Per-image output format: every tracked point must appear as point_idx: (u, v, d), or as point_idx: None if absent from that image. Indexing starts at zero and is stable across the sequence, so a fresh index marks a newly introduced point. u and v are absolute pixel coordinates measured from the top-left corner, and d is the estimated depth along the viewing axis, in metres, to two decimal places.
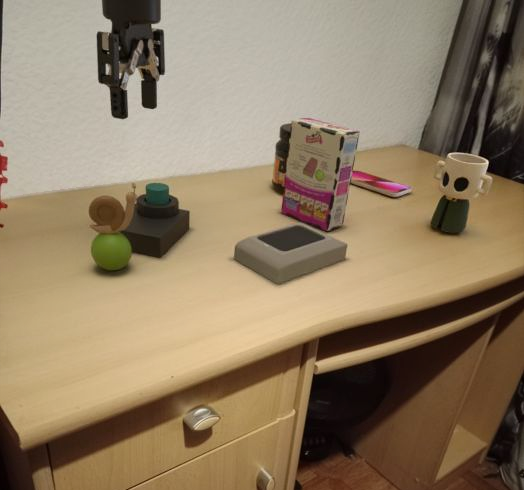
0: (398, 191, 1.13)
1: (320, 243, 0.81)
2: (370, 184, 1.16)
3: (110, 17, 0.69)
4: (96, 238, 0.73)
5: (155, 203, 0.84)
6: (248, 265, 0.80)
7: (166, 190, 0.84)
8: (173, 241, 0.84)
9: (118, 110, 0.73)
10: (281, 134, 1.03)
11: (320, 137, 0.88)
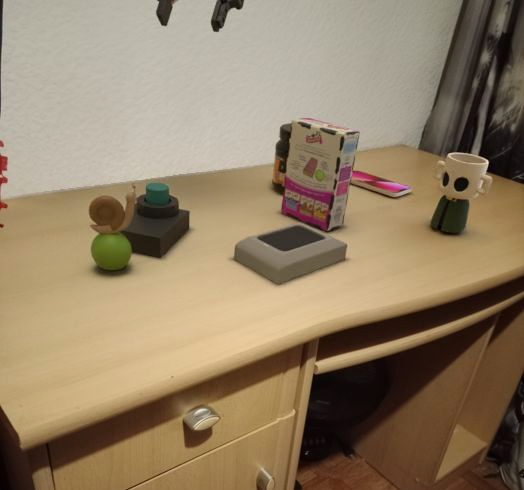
0: (398, 191, 1.13)
1: (320, 243, 0.81)
2: (370, 184, 1.16)
3: None
4: (96, 238, 0.73)
5: (155, 203, 0.84)
6: (248, 265, 0.80)
7: (166, 190, 0.84)
8: (173, 241, 0.84)
9: (223, 23, 0.81)
10: (281, 134, 1.03)
11: (320, 137, 0.88)
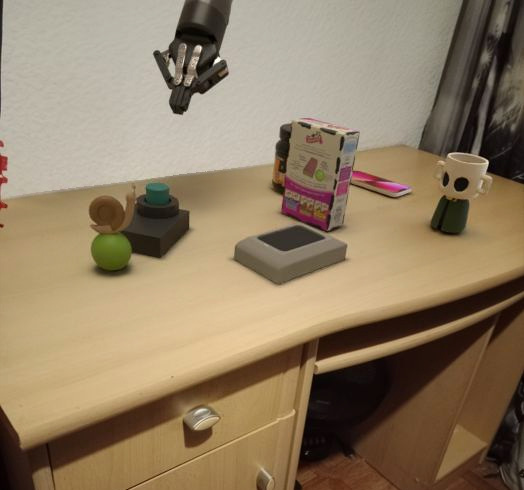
0: (398, 191, 1.13)
1: (320, 243, 0.81)
2: (370, 184, 1.16)
3: (217, 39, 0.86)
4: (96, 238, 0.73)
5: (155, 203, 0.84)
6: (248, 265, 0.80)
7: (166, 190, 0.84)
8: (173, 241, 0.84)
9: (187, 107, 0.86)
10: (281, 134, 1.03)
11: (320, 137, 0.88)
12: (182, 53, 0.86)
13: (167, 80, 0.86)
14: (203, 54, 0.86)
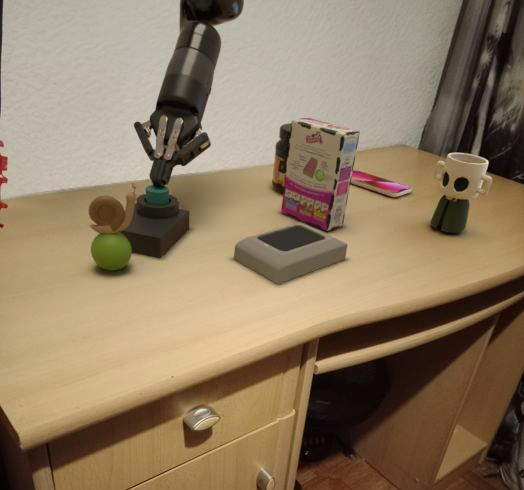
0: (398, 191, 1.13)
1: (320, 243, 0.81)
2: (370, 184, 1.16)
3: (199, 110, 0.85)
4: (96, 238, 0.73)
5: None
6: (248, 265, 0.80)
7: (166, 192, 0.84)
8: (173, 241, 0.84)
9: (168, 180, 0.85)
10: (281, 134, 1.03)
11: (320, 137, 0.88)
12: (163, 126, 0.84)
13: (148, 153, 0.85)
14: (185, 126, 0.85)
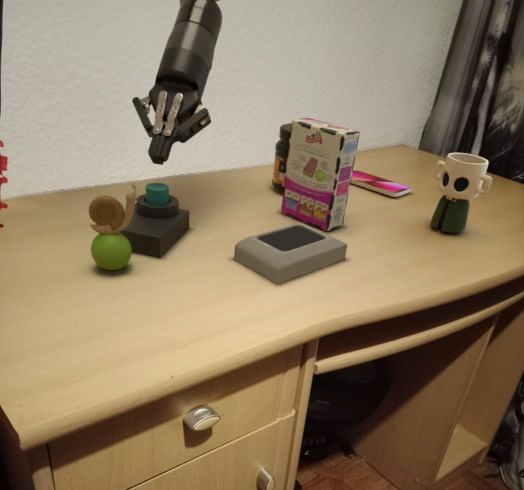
0: (398, 191, 1.13)
1: (320, 243, 0.81)
2: (370, 184, 1.16)
3: (199, 86, 0.83)
4: (96, 238, 0.73)
5: (155, 203, 0.84)
6: (248, 265, 0.80)
7: (166, 190, 0.84)
8: (173, 241, 0.84)
9: (167, 157, 0.83)
10: (281, 134, 1.03)
11: (320, 137, 0.88)
12: (162, 101, 0.82)
13: (146, 129, 0.83)
14: (184, 102, 0.83)
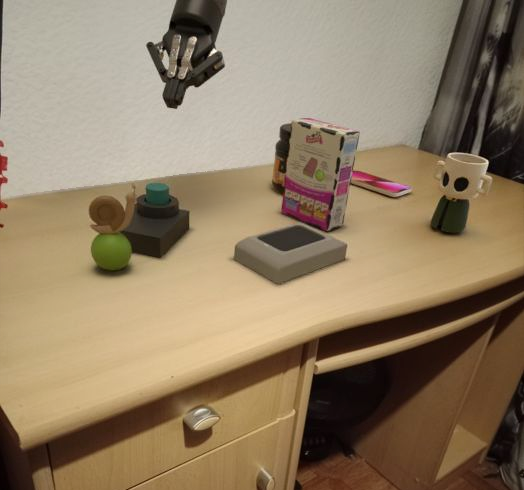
0: (398, 191, 1.13)
1: (320, 243, 0.81)
2: (370, 184, 1.16)
3: (213, 29, 0.83)
4: (96, 238, 0.73)
5: (155, 203, 0.84)
6: (248, 265, 0.80)
7: (166, 190, 0.84)
8: (173, 241, 0.84)
9: (181, 101, 0.83)
10: (281, 134, 1.03)
11: (320, 137, 0.88)
12: (176, 45, 0.82)
13: (161, 73, 0.83)
14: (198, 45, 0.83)
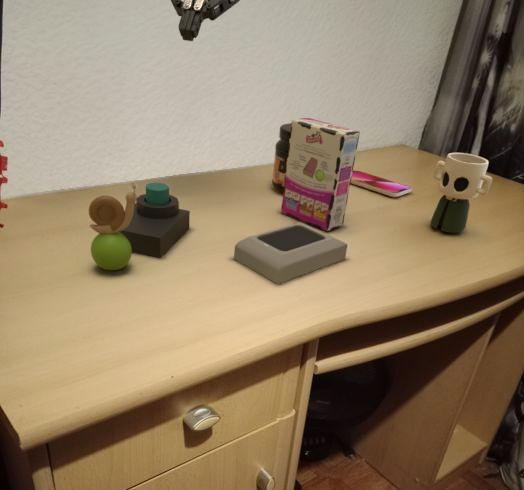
0: (398, 191, 1.13)
1: (320, 243, 0.81)
2: (370, 184, 1.16)
3: None
4: (96, 238, 0.73)
5: (155, 203, 0.84)
6: (248, 265, 0.80)
7: (166, 190, 0.84)
8: (173, 241, 0.84)
9: (197, 33, 0.83)
10: (281, 134, 1.03)
11: (320, 137, 0.88)
12: None
13: (177, 5, 0.83)
14: None
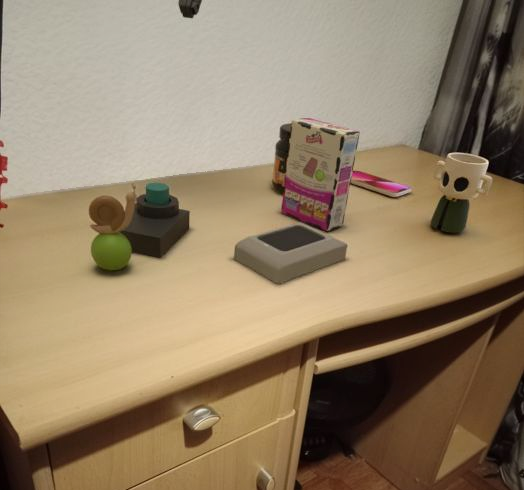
0: (398, 191, 1.13)
1: (320, 243, 0.81)
2: (370, 184, 1.16)
3: None
4: (96, 238, 0.73)
5: (155, 203, 0.84)
6: (248, 265, 0.80)
7: (166, 190, 0.84)
8: (173, 241, 0.84)
9: (197, 10, 0.82)
10: (281, 134, 1.03)
11: (320, 137, 0.88)
12: None
13: None
14: None
